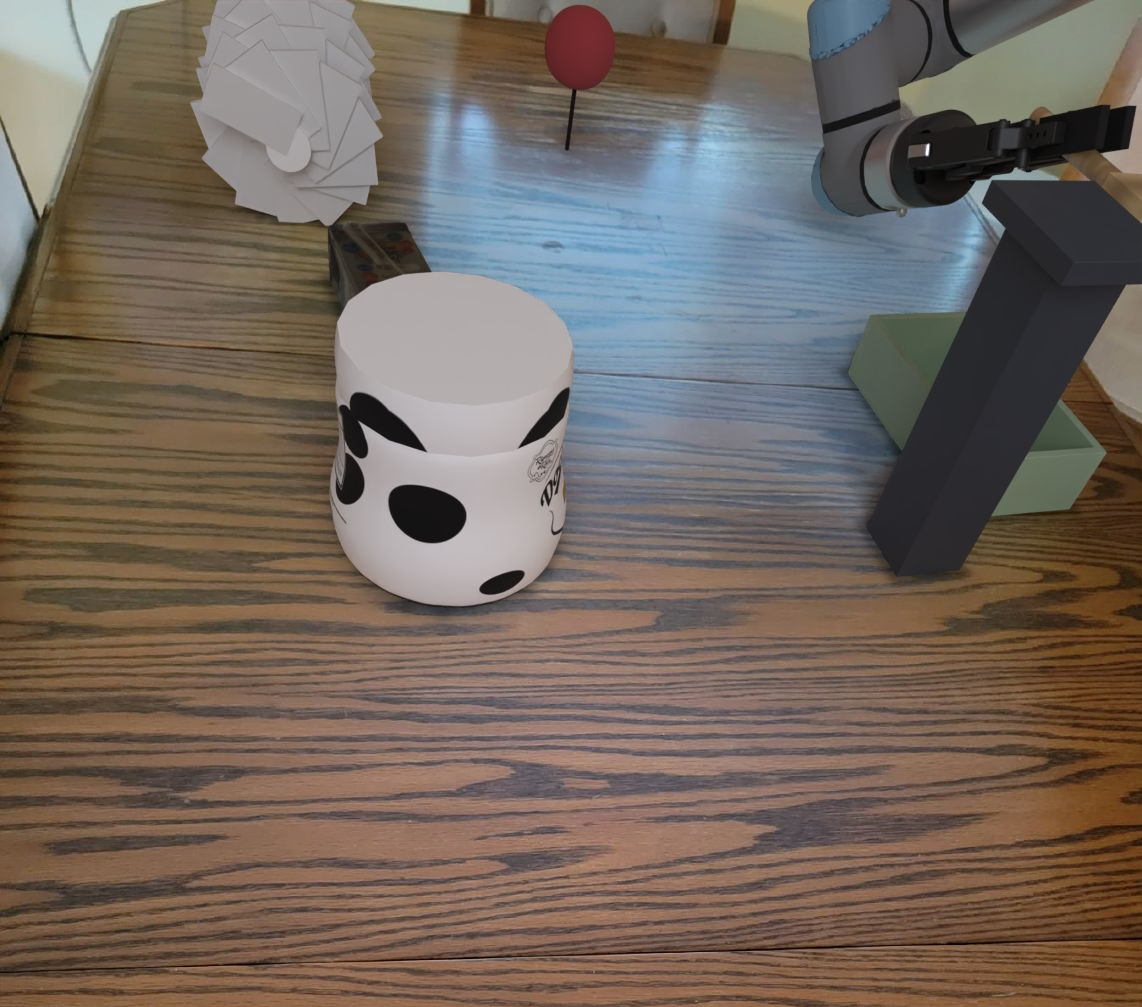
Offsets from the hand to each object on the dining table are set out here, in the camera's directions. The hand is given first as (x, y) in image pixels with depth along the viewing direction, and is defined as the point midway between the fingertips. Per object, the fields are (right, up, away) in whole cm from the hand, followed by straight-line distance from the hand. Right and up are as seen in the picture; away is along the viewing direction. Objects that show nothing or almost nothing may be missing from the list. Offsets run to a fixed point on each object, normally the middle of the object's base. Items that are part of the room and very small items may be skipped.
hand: (1115, 126), depth 74 cm
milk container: (-49, -30, +5) cm, 58 cm away
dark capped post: (-11, -29, +12) cm, 33 cm away
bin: (-4, -16, +22) cm, 28 cm away
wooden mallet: (0, -2, +3) cm, 4 cm away
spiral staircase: (-69, +15, +35) cm, 79 cm away
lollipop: (-40, +26, +48) cm, 68 cm away
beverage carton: (-56, -7, +21) cm, 60 cm away
